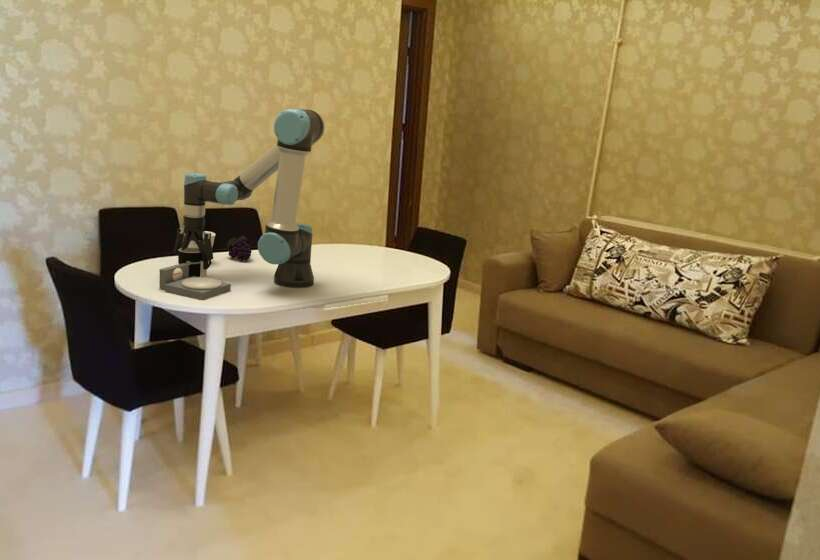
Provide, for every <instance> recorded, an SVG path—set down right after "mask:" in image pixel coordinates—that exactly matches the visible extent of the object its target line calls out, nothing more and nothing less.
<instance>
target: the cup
mask: <svg viewBox="0 0 820 560" xmlns="http://www.w3.org/2000/svg"><path fill="white" fill-rule="evenodd" d="M204 232H205V233H211V245H212V248H213V246H214V242H215V237H216V235H217V234H216V233H215V232H213V231H208V230H207V231H206V230H204ZM203 237H204V236H203ZM203 239H204V238H203ZM199 241H200V240H199ZM188 247H192V248H198V246H197V244H196V243H195V241H190V243H189V246H188ZM208 264H209V262H208Z"/></svg>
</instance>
